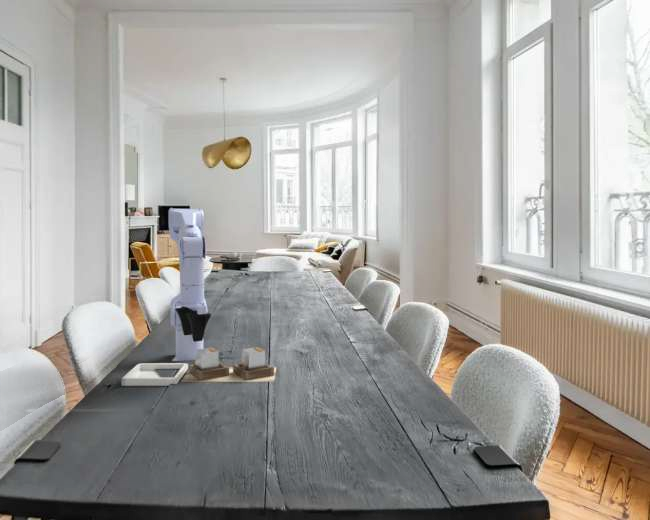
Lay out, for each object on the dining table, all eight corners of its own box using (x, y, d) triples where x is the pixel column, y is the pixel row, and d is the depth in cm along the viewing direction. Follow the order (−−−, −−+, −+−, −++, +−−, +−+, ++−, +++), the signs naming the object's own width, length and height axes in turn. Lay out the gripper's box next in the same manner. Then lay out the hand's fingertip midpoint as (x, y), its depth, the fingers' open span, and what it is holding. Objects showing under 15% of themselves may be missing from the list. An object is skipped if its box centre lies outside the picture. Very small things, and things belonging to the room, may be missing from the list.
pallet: (191, 370, 130) (191, 359, 129) (276, 370, 131) (276, 359, 131) (180, 385, 118) (180, 373, 117) (274, 385, 119) (274, 373, 119)
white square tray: (138, 371, 128) (138, 363, 128) (188, 371, 129) (188, 363, 129) (121, 388, 116) (121, 378, 115) (176, 387, 116) (176, 378, 116)
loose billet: (195, 373, 124) (195, 348, 124) (212, 370, 127) (212, 346, 126) (201, 378, 120) (201, 352, 120) (218, 375, 123) (218, 350, 122)
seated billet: (241, 372, 125) (241, 348, 125) (257, 370, 127) (257, 346, 127) (248, 377, 121) (248, 352, 121) (265, 374, 124) (265, 350, 123)
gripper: (168, 282, 129) (168, 333, 130) (185, 289, 117) (186, 346, 118) (195, 280, 133) (195, 331, 134) (214, 287, 120) (214, 342, 121)
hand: (192, 337), depth 126 cm, fingers open, 7 cm apart
